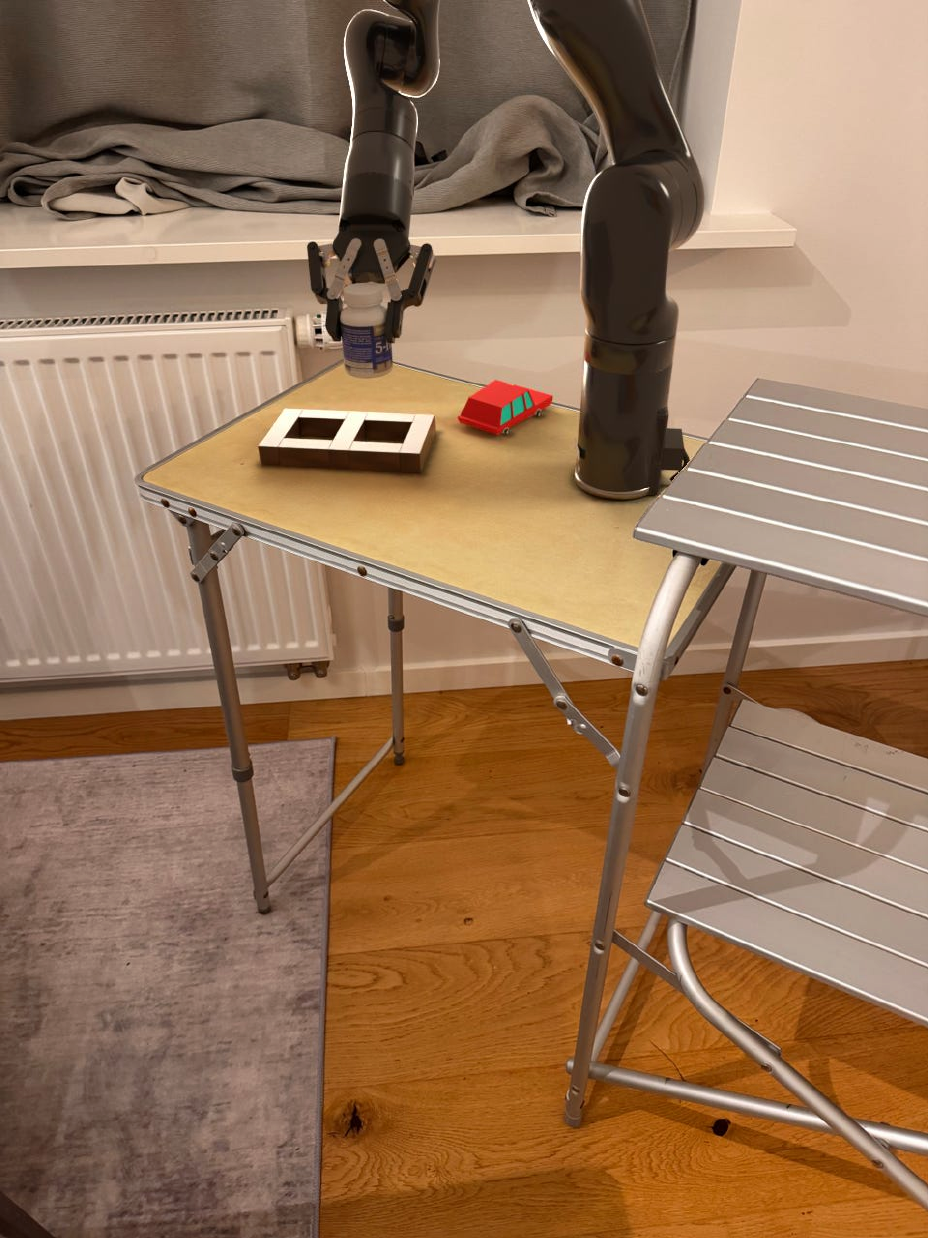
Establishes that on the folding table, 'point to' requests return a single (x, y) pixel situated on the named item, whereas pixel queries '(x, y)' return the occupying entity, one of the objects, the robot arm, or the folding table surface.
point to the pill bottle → (365, 332)
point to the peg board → (349, 440)
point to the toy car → (502, 407)
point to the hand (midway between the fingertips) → (362, 338)
